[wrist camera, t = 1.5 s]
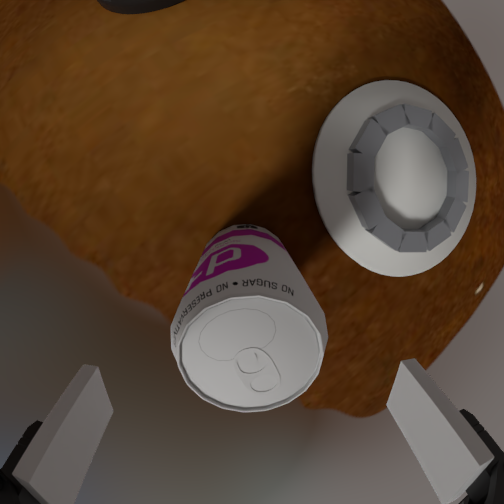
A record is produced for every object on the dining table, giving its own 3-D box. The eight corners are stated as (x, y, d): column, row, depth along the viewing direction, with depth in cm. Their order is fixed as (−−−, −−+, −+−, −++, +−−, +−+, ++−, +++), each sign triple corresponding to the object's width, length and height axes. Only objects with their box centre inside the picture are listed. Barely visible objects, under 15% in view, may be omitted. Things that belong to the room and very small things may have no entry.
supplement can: (186, 245, 27) (131, 323, 12) (268, 208, 26) (303, 250, 12) (224, 317, 29) (214, 433, 14) (300, 285, 28) (352, 384, 14)
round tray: (310, 68, 23) (317, 58, 20) (467, 106, 24) (482, 103, 21) (307, 275, 28) (314, 286, 25) (459, 269, 29) (473, 277, 26)
